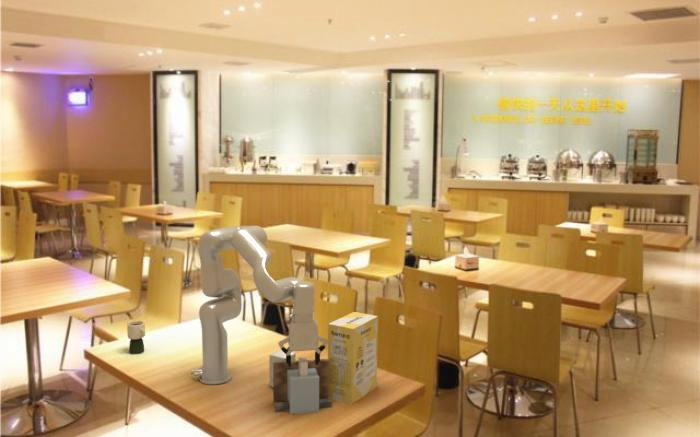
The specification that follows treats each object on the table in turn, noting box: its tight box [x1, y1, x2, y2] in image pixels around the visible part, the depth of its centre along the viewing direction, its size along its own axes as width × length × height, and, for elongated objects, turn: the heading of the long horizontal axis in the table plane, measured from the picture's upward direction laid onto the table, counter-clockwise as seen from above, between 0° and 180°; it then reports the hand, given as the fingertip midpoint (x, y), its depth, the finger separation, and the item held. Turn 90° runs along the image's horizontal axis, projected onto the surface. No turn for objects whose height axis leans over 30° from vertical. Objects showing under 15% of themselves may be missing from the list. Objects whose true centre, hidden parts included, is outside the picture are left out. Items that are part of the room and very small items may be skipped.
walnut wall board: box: [272, 358, 333, 413], centre depth 228 cm, size 20×8×15 cm, turn 102°
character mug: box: [126, 320, 146, 354], centre depth 277 cm, size 11×7×13 cm, turn 58°
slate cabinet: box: [287, 356, 320, 415], centre depth 225 cm, size 10×9×18 cm
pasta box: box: [327, 311, 379, 405], centre depth 238 cm, size 18×10×28 cm, turn 149°
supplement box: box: [268, 349, 297, 388], centre depth 245 cm, size 7×7×13 cm
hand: (303, 364), depth 224 cm, fingers open, 9 cm apart
